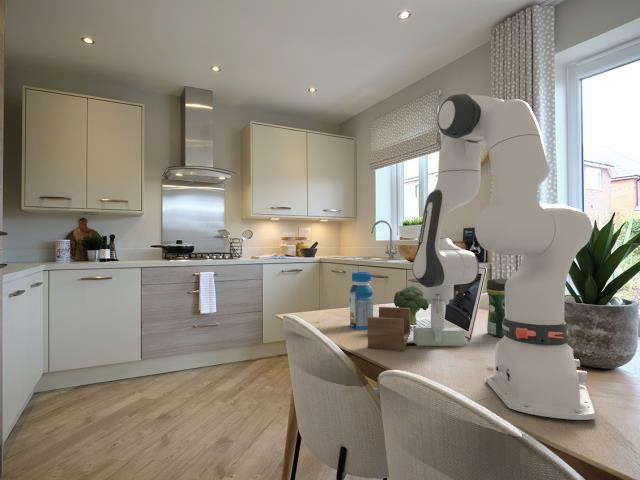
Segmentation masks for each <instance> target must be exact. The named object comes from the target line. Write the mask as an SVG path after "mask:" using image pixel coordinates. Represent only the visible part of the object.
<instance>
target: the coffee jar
mask: <svg viewBox="0 0 640 480" xmlns="http://www.w3.org/2000/svg"><path fill="white" fill-rule="evenodd" d="M507 280H508V278H504V277H503V278H491V279H490V278H489V279H487V282H486V293H487V296H488V303H489V304H488V314H487V326H486V328H487V329H486V331H487V333H488V334H489V335H490V336H492V337H494V336H495V337H498V338H503V337H504V334H503V327H502V323H503V318H504V317H505V283H506V281H507Z"/></svg>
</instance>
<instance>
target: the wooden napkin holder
mask: <svg viewBox="0 0 640 480" xmlns="http://www.w3.org/2000/svg"><path fill="white" fill-rule="evenodd" d="M409 335H410V336H411V327H410V308H399V307H398V306H397V307H396V306H395V307H393V306H378V316H373V317H368V330H367V349H371V350H380V351H381V350H382V351H392V352H401V353H404V352H405V349H406V348H407V347H406V346H407V343H408V341H409V339H408V337H409V338H410V336H409ZM407 340H408V341H407Z"/></svg>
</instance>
